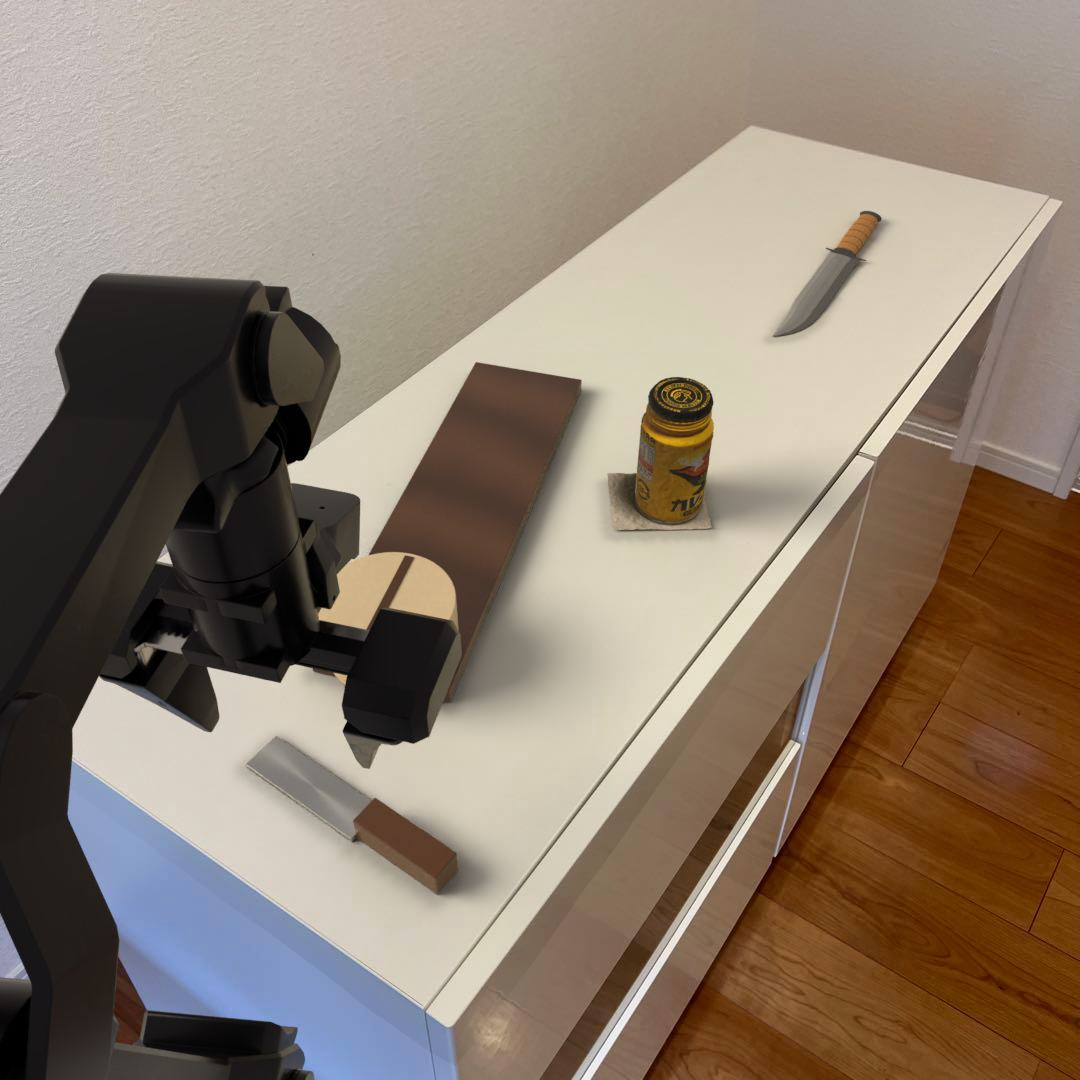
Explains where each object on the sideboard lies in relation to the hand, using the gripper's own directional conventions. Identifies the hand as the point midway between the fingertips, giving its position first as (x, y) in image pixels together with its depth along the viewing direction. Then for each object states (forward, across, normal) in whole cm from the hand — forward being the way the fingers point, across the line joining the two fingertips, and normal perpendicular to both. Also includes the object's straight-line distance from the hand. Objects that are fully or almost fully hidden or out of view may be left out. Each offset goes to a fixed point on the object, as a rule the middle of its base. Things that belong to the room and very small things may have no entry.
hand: (290, 742), depth 58 cm
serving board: (+15, +2, -36) cm, 39 cm away
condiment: (+16, -14, -41) cm, 46 cm away
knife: (+16, -27, -84) cm, 90 cm away
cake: (+14, +2, -19) cm, 23 cm away
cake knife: (+15, 0, -5) cm, 16 cm away
